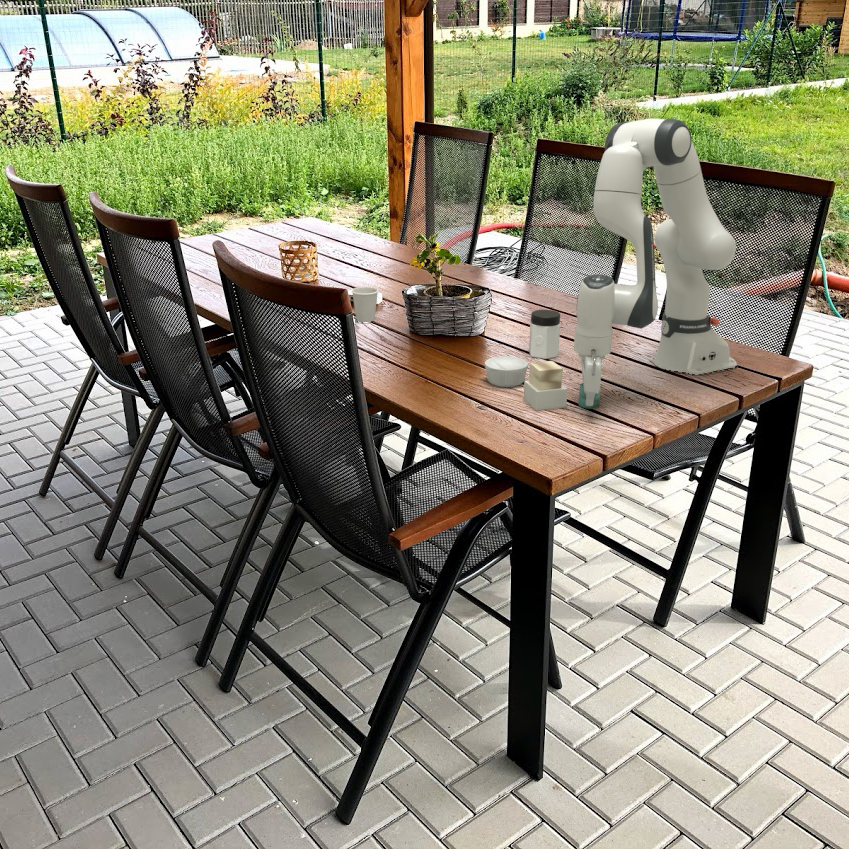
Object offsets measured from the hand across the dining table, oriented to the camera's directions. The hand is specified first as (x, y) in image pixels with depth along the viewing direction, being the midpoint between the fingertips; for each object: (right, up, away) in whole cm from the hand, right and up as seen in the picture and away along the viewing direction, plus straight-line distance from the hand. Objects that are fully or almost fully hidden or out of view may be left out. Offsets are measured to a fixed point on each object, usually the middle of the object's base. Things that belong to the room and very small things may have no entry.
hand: (588, 397), depth 227 cm
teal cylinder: (0, -2, +1) cm, 2 cm away
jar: (-6, +13, +36) cm, 39 cm away
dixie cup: (-59, +26, +66) cm, 92 cm away
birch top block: (-11, +3, 0) cm, 11 cm away
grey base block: (-10, -1, +2) cm, 11 cm away
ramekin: (-19, +5, +16) cm, 25 cm away
